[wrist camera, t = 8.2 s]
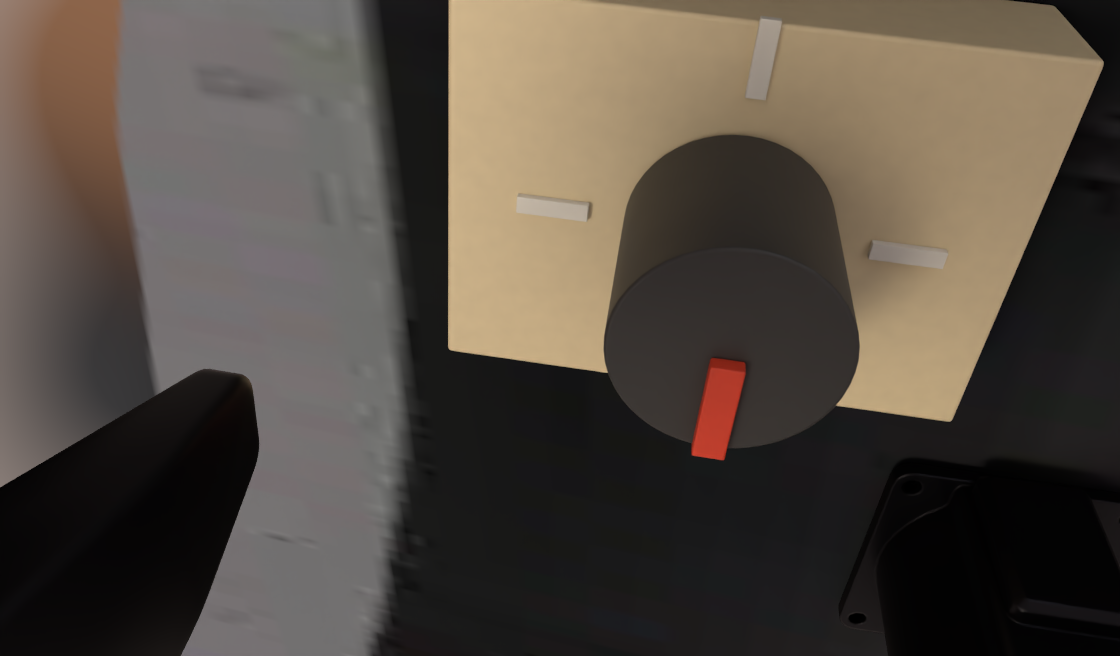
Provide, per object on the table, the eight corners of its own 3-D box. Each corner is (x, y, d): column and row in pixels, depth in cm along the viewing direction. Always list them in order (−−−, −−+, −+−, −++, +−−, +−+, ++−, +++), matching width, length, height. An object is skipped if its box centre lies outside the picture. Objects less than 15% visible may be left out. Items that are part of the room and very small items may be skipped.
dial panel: (1058, -2, 18) (1113, 59, 15) (927, 343, 23) (952, 432, 20) (482, -66, 19) (445, -19, 16) (475, 281, 24) (445, 359, 21)
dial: (637, 119, 17) (616, 241, 14) (860, 148, 17) (894, 280, 14) (612, 300, 20) (589, 442, 16) (808, 328, 19) (826, 478, 16)
